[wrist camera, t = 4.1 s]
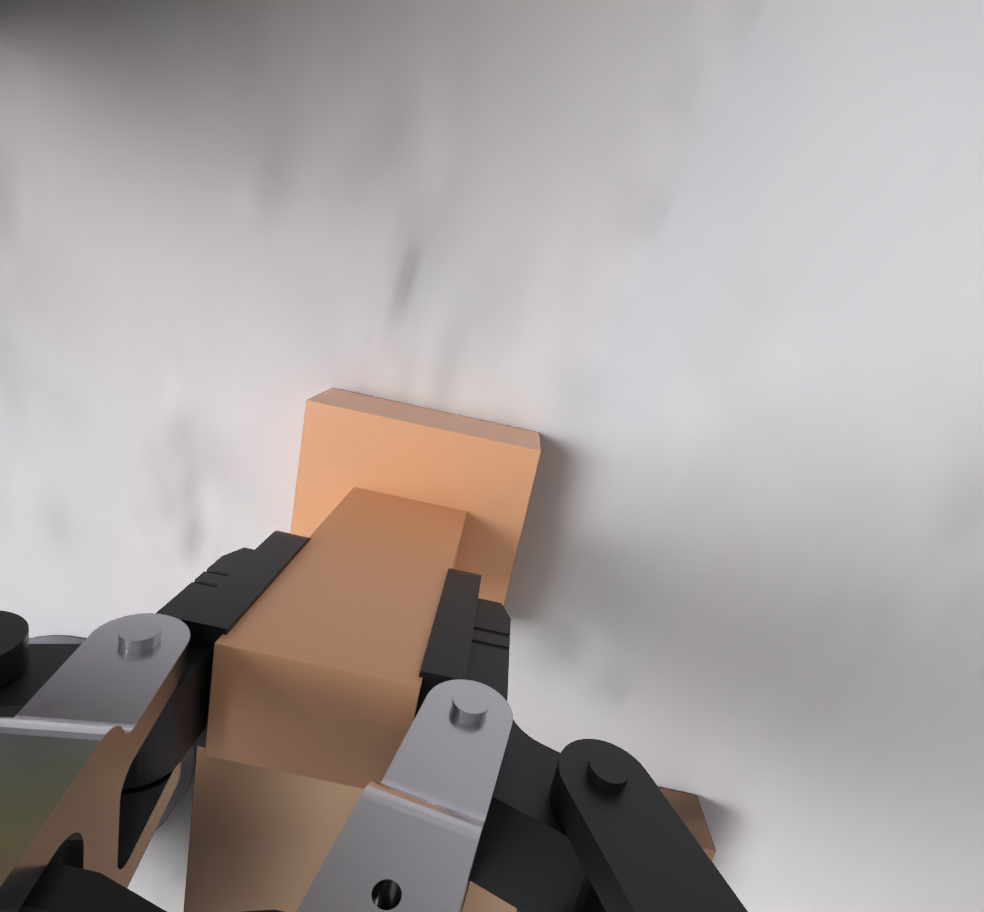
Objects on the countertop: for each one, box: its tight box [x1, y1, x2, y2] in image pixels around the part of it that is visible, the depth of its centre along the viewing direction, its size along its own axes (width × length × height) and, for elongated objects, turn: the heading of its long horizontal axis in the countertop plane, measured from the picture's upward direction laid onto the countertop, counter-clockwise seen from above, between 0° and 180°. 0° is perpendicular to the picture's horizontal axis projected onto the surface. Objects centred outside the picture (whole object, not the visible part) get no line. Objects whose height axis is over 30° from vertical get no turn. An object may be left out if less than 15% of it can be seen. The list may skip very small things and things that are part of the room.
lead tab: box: [205, 388, 541, 789], centre depth 13 cm, size 6×10×9 cm, turn 168°
